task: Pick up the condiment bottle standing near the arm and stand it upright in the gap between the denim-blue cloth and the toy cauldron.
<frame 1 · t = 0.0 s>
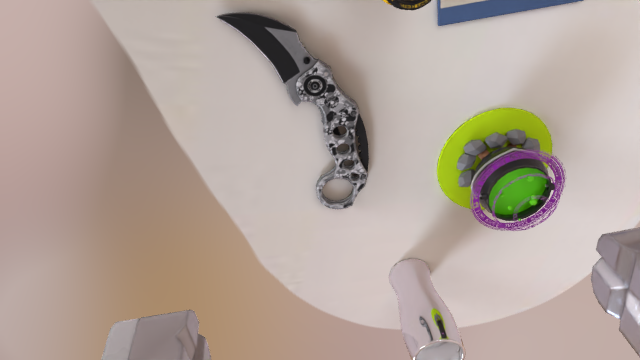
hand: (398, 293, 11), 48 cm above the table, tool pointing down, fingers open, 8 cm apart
toy cauldron: (493, 160, 68), on the table
knife: (312, 109, 61), on the table
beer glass: (408, 273, 77), on the table
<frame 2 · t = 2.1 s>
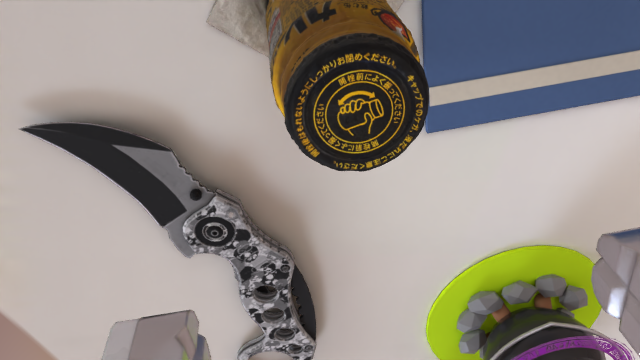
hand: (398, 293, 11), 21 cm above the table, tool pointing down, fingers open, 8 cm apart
toy cauldron: (513, 312, 44), on the table
knife: (219, 257, 37), on the table
condiment: (309, 2, 28), on the table
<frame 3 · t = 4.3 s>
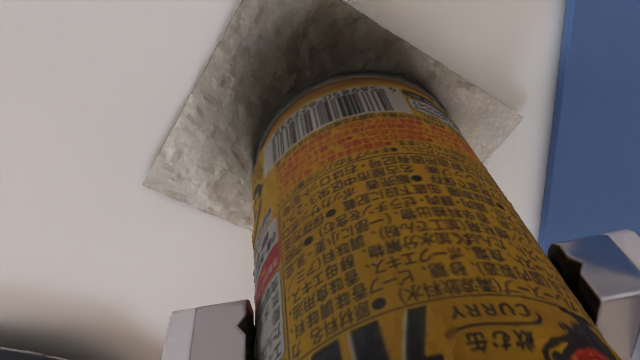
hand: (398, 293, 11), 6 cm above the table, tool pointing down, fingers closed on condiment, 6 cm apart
condiment: (332, 144, 15), on the table, touching gripper
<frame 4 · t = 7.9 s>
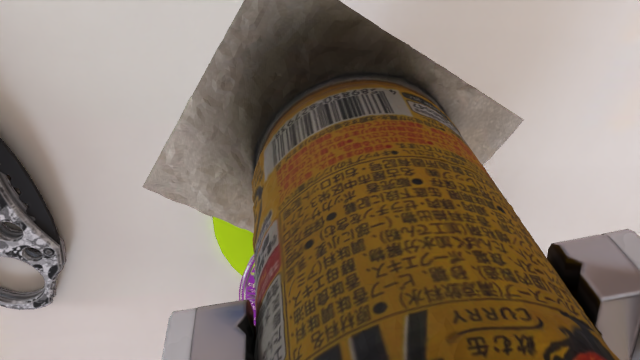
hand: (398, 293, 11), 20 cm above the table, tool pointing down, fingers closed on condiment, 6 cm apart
toy cauldron: (327, 214, 35), on the table
condiment: (332, 146, 15), point 14 cm above the table, touching gripper
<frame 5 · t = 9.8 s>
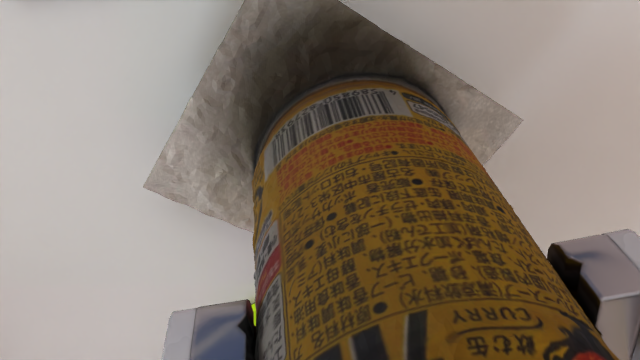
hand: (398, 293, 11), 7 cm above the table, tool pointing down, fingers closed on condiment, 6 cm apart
condiment: (332, 146, 15), point 1 cm above the table, touching gripper
when the fingers open (6 cm above the table, at t = 10.8 s): condiment stays where it is, on the table.
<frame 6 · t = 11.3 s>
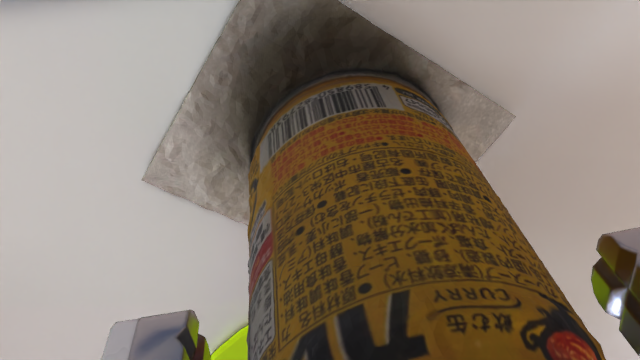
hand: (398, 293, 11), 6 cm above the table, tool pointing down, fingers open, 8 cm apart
condiment: (327, 141, 16), on the table
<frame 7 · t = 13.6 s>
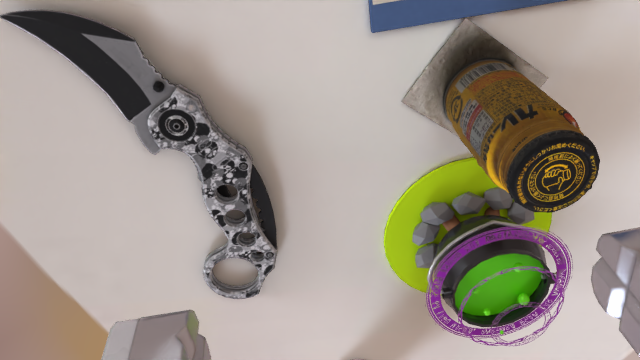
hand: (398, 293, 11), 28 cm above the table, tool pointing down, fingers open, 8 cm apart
toy cauldron: (466, 229, 47), on the table
knife: (184, 159, 40), on the table
condiment: (473, 87, 40), on the table
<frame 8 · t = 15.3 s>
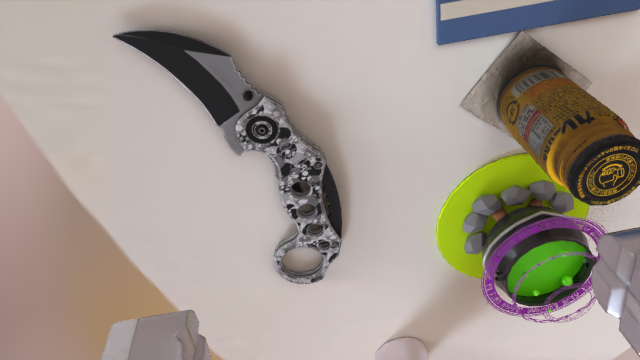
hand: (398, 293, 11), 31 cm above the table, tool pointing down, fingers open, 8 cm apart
toy cauldron: (511, 218, 51), on the table
knife: (262, 159, 45), on the table
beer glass: (400, 353, 60), on the table
condiment: (524, 91, 44), on the table
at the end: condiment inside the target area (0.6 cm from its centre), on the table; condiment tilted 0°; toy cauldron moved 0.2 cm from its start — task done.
